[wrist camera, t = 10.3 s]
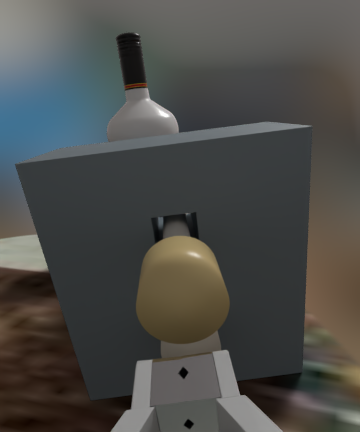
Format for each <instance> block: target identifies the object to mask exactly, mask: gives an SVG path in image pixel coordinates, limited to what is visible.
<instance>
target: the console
mask: <svg viewBox="0 0 360 432" xmlns="http://www.w3.org/2000/svg"><path fill="white" fill-rule="evenodd" d="M311 146H312V126H305V125H295V124H285V123H274V122H262V123H255V124H246V125H239V126H231V127H223V128H215V129H208V130H200V131H192V132H184V133H176V134H168V135H160V136H152V137H144V138H136V139H128V140H121V141H113V142H105V143H97V144H89V145H81V146H73V147H66V148H60V149H57V150H54V151H51V152H48V153H45V154H42V155H40V156H37V157H34V158H31V159H28V160H25V161H23V162H19V163H17V164H15V166H16V169H17V172H18V175H19V179H20V181H21V184H22V188H23V191H24V194H25V197H26V200H27V204H28V207H29V209H30V213H31V216H32V219H33V222H34V225H35V228H36V231H37V235H38V238H39V241H40V244H41V247H42V250H43V254H44V257H45V260H46V263H47V266H48V269H49V272H50V275H51V279H52V282H53V285H54V288H55V291H56V294H57V297H58V300H59V304H60V307H61V310H62V313H63V316H64V319H65V322H66V325H67V329H68V332H69V335H70V338H71V341H72V344H73V347H74V350H75V354H76V357H77V360H78V363H79V366H80V369H81V372H82V375H83V379H84V382H85V385H86V388H87V391H88V394H89V397H90V400H98V399H106V398H113V397H121V396H128V395H132V394H133V386H134V377H135V369H136V364H137V361H142V360H152V359H159V358H162V356H161V340H159V339H157V338H155V337H153V336H152V335H150V334H149V333H148V332H147V331H146V330H145V329H144V328H143V326H142V325H141V323H140V321H139V319H138V317H137V313H136V300H137V294H138V287H139V280H140V274H141V267H142V262H143V259H144V257H145V255H146V253H147V252H148V250H149V249H150V248H151V247H152V246H153V245H155V244H156V243H157V242H159V241H161V240H163V217H162V218H159V217H161V216H169V215H177V214H185V213H191V214H186V219H187V224H188V228H189V233H190V237H192V238H196V239H198V240H200V241H202V242H203V243H205V244H206V245H207V246H208V247H209V248H210V249H211V250H212V252H213V253H214V255H215V258H216V260H217V263H218V266H219V269H220V272H221V275H222V278H223V280H224V283H225V286H226V289H227V292H228V295H229V301H230V306H229V312H228V315H227V317H226V319H225V321H224V323H223V324H222V326H221V327H220V328H219V329H218V330H217V331H218V335H219V339H220V343H221V350H227V351H228V352H229V355H230V359H231V363H232V367H233V370H234V374H235V378H236V381H241V380H248V379H256V378H263V377H271V376H278V375H286V374H293V373H301V372H302V367H303V343H304V318H305V294H306V269H307V244H308V220H309V195H310V172H311Z"/></svg>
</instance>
